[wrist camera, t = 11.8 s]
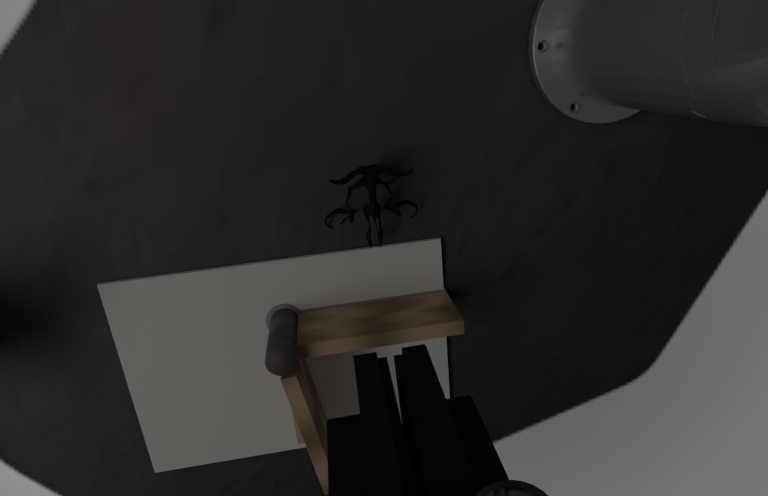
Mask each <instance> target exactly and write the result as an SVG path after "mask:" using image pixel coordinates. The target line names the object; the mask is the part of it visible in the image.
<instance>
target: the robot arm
mask: <svg viewBox="0 0 768 496" xmlns="http://www.w3.org/2000/svg"><path fill="white" fill-rule="evenodd" d="M538 43H540V44H541V49H540V50H538ZM528 53H529V61H530V68H531V71H532V74H533V78H534V81H535V83H536V85H537V87H538V89H539V91H540V92H541V94H542V96H543V97H544V98H545V99H546V100H547V102H548V103H549V104H550V105H551V106H552V107H553V108H555V109H556V110H557V111H559V112H560V113H561V114H563V115H565V116H567V117H570V118H572V119H574V120H578V121H582V122H586V123H597V124H602V123H611V122H616V121H619V120H622V119H625V118H628V117H630V116H632V115H634V114H636V113H638V112H639V111H641V110H644V111H651V112H658V113H665V114H672V115H679V116H686V117H692V118H699V119H706V120H713V121H720V122H727V123H734V124H744V125H751V126H762V127H768V0H540V1H539V4H538V6H537V9H536V11H535V14H534V16H533V20H532V24H531V29H530V33H529V49H528ZM572 104H573V108H572V109H570V107H571V105H572ZM353 358H354V367H355V375H356V384H357V392H358V401H359V409H360V414H356V415H350V416H344V417H338V418H333V419H327V451H328V493H329V496H548V495H547V494H545V492H544V491H542V490H540V489H539V488H537V487H535V486H534V485H532V484H529V483H526V482H522V481H516V480H509V479H508V477H507V474H506V472H505V470H504V468H503V465H502V463H501V461H500V459H499V456H498V454H497V452H496V450H495V448H494V445H493V443H492V441H491V439H490V437H489V434H488V432H487V430H486V428H485V425H484V423H483V421H482V419H481V417H480V414H479V412H478V410H477V408H476V405H475V403H474V401H473V399H472V397H471V396H469V395H467V396H462V397H456V398H450V399H446V398H445V395H444V392H443V390H442V387H441V384H440V382H439V379H438V376H437V374H436V371H435V368H434V366H433V363H432V360H431V358H430V355H429V352H428V349H427V347H426V345H425V344H422V345H416V346H410V347H403V348H402V354H400V355H394V363H395V372H396V380H397V388H398V396H399V404H400V412H401V417H400V413H399V409H398V404H397V400H396V395H395V391H394V387H393V382H392V378H391V374H390V369H389V365H388V360H387V357H381V358H378V357H377V352H373V353H366V354H360V355H354V356H353ZM401 420H402V422H401Z"/></svg>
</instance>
